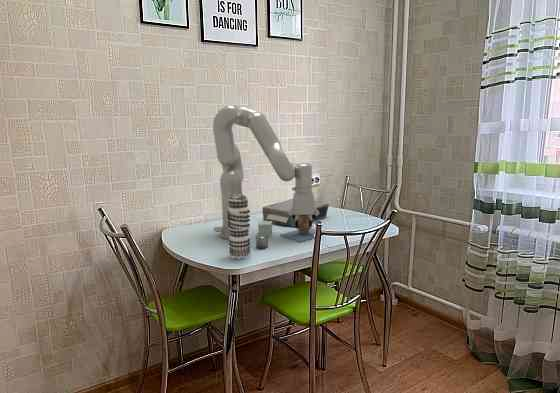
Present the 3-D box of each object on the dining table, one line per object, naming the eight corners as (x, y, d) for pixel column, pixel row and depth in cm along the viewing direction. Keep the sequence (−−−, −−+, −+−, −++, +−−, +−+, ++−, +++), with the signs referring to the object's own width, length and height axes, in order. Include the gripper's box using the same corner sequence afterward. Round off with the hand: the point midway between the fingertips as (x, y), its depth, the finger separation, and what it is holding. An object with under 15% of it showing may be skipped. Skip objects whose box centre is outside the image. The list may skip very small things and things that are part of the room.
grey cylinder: (255, 249, 176) (255, 238, 175) (256, 245, 181) (256, 234, 180) (267, 249, 176) (267, 238, 175) (268, 245, 181) (268, 234, 180)
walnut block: (298, 232, 193) (298, 215, 191) (298, 229, 197) (298, 213, 196) (309, 232, 192) (309, 215, 191) (308, 229, 197) (308, 213, 196)
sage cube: (258, 237, 194) (258, 224, 192) (259, 233, 199) (259, 221, 198) (271, 237, 193) (271, 224, 192) (272, 233, 199) (272, 221, 198)
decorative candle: (251, 251, 174) (250, 192, 169) (251, 259, 165) (249, 197, 160) (229, 251, 174) (227, 193, 169) (227, 259, 165) (225, 197, 159)
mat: (300, 242, 184) (300, 241, 184) (279, 235, 195) (279, 234, 194) (327, 234, 196) (327, 232, 196) (306, 228, 206) (306, 227, 206)
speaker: (293, 230, 205) (329, 217, 227) (293, 214, 204) (329, 203, 225) (259, 222, 221) (295, 211, 242) (258, 207, 219) (295, 197, 241)
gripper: (284, 191, 188) (285, 230, 191) (322, 191, 187) (322, 230, 191) (285, 188, 195) (285, 226, 199) (321, 188, 194) (321, 226, 198)
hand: (303, 227), depth 195 cm, fingers closed on walnut block, 5 cm apart
